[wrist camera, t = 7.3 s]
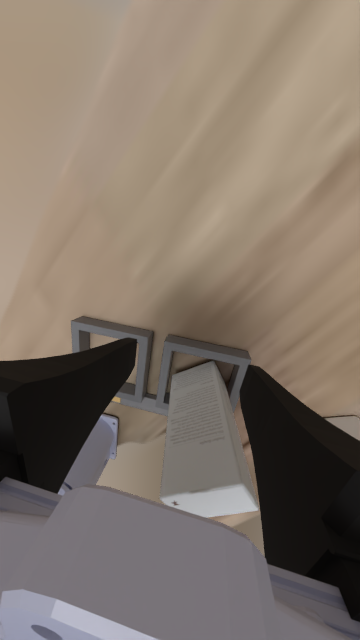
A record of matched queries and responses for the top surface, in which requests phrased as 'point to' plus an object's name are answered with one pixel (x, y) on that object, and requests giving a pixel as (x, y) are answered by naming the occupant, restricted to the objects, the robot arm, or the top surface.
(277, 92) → the top surface
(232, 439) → the skincare box
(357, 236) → the top surface
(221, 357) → the gray open square frames
